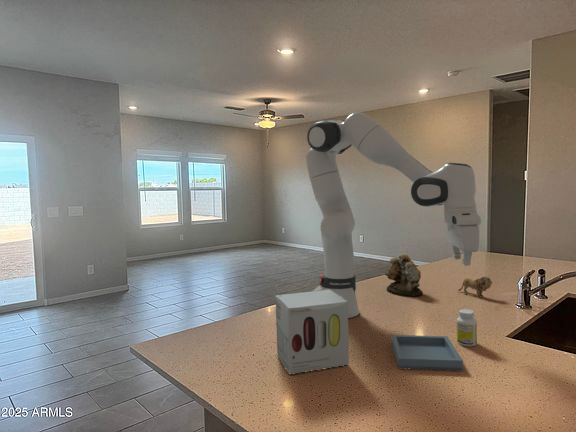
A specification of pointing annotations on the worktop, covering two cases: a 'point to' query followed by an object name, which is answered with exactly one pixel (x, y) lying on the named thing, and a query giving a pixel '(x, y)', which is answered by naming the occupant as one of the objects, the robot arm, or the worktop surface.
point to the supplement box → (312, 330)
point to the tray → (426, 353)
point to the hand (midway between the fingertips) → (461, 261)
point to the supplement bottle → (466, 328)
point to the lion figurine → (477, 285)
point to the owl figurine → (404, 277)
